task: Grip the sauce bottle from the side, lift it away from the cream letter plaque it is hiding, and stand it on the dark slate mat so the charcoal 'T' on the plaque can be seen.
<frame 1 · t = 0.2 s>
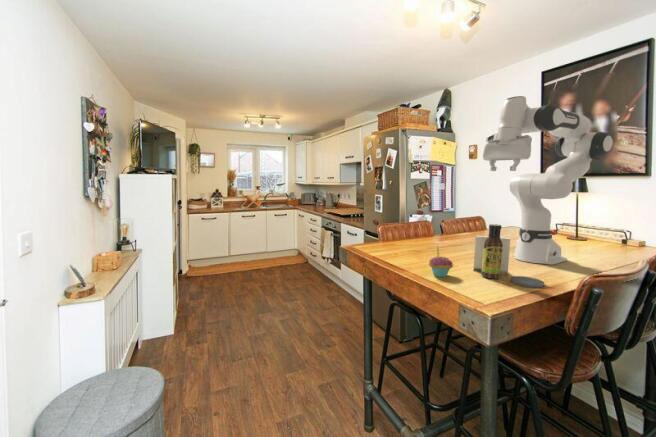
hand: (502, 170, 133), 40 cm above the table, tool pointing down, fingers open, 8 cm apart
letter plaque: (490, 272, 126), on the table
sauce bottle: (490, 277, 120), on the table
cupcake: (439, 275, 122), on the table
slate mat: (526, 283, 113), on the table
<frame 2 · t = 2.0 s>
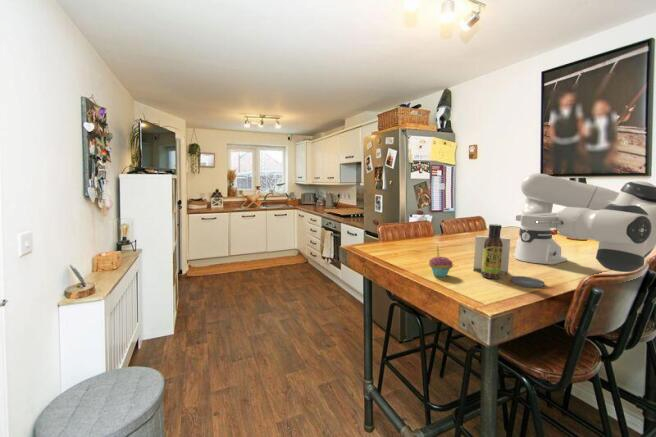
hand: (527, 217, 106), 24 cm above the table, tool horizontal, fingers open, 8 cm apart
nothing on the table moved.
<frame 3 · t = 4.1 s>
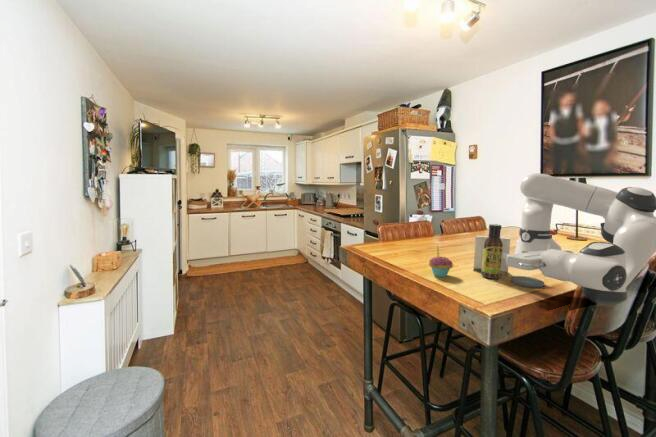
hand: (513, 254, 111), 11 cm above the table, tool horizontal, fingers open, 8 cm apart
nothing on the table moved.
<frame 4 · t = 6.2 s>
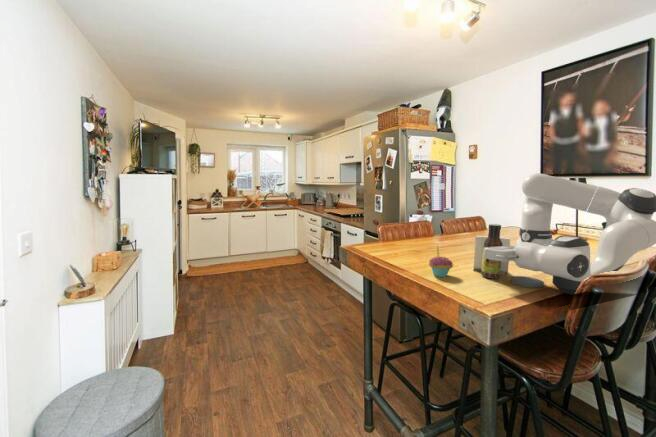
hand: (492, 248, 119), 11 cm above the table, tool horizontal, fingers closed on sauce bottle, 6 cm apart
sauce bottle: (490, 277, 120), on the table, touching gripper
everything else where it was.
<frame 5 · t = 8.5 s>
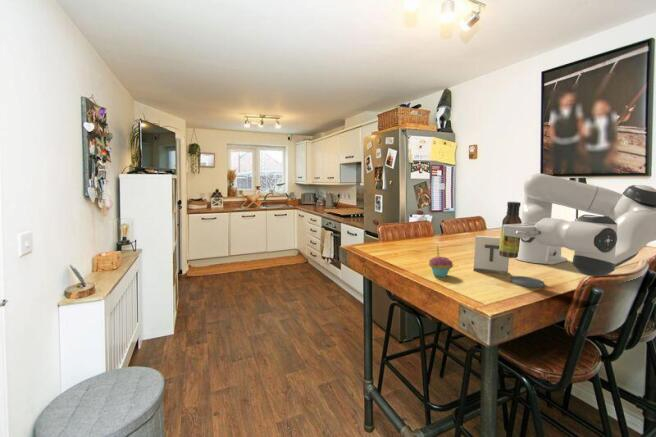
hand: (510, 226, 115), 20 cm above the table, tool horizontal, fingers closed on sauce bottle, 6 cm apart
sauce bottle: (508, 257, 116), point 8 cm above the table, touching gripper
everything else where it was.
when the fingers open (13 cm above the table, at t = 11.0 s): sauce bottle drops 1 cm, resting on slate mat.
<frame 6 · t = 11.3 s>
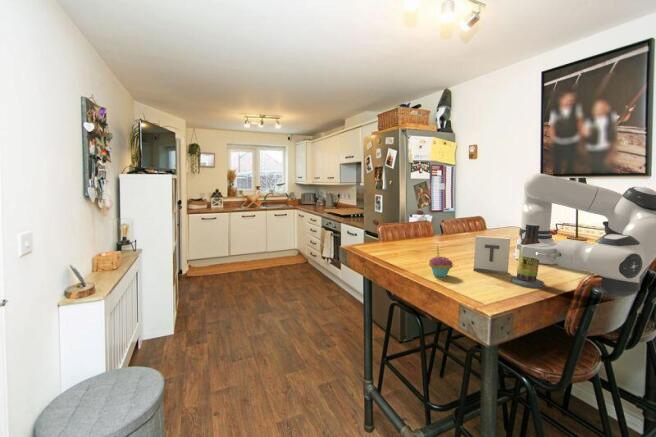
hand: (527, 245, 112), 13 cm above the table, tool horizontal, fingers open, 8 cm apart
sauce bottle: (526, 280, 114), point 1 cm above the table, touching gripper, slate mat
everything else where it was.
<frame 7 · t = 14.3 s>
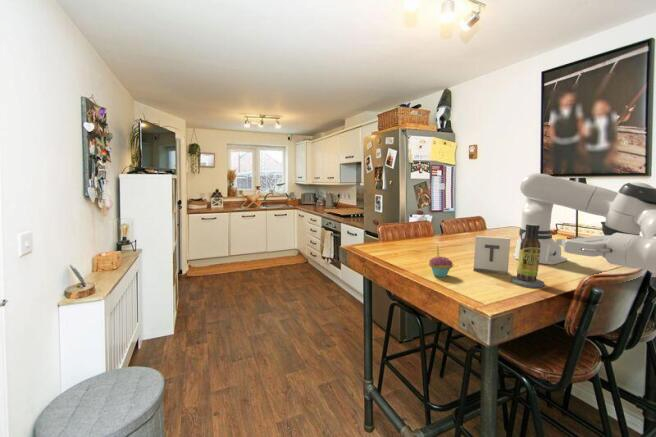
hand: (567, 240, 100), 18 cm above the table, tool horizontal, fingers open, 8 cm apart
sauce bottle: (526, 280, 114), point 1 cm above the table, touching slate mat
everything else where it was.
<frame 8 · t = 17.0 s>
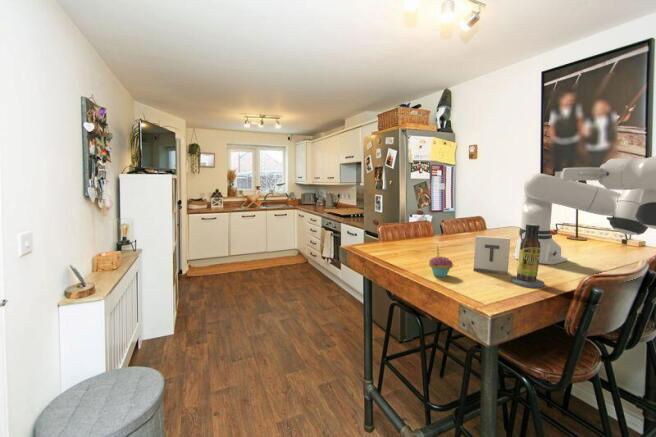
hand: (565, 174, 104), 38 cm above the table, tool horizontal, fingers open, 8 cm apart
nothing on the table moved.
at the end: sauce bottle 1.1 cm off-centre on the slate mat, point 0.8 cm above the slate mat's base; sauce bottle tilted 0°; the gripper is holding nothing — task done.
